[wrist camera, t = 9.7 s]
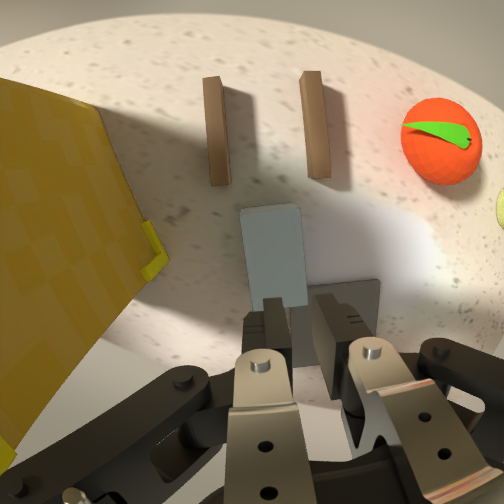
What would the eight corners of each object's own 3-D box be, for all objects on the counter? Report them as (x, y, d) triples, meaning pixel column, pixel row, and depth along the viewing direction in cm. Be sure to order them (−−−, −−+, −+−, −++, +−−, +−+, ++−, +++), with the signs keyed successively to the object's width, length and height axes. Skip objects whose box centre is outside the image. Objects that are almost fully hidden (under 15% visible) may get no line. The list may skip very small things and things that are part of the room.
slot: (215, 184, 23) (211, 186, 20) (207, 87, 21) (202, 78, 18) (323, 176, 23) (331, 177, 20) (313, 80, 20) (320, 71, 18)
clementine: (372, 172, 22) (415, 175, 16) (377, 93, 21) (418, 71, 14) (446, 188, 23) (496, 197, 16) (450, 116, 21) (500, 108, 14)
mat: (291, 364, 27) (292, 367, 26) (289, 288, 25) (290, 290, 24) (370, 353, 27) (372, 356, 26) (377, 279, 25) (380, 281, 24)
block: (253, 290, 25) (253, 312, 21) (241, 208, 23) (239, 215, 20) (300, 284, 25) (307, 304, 21) (292, 202, 23) (299, 208, 19)
